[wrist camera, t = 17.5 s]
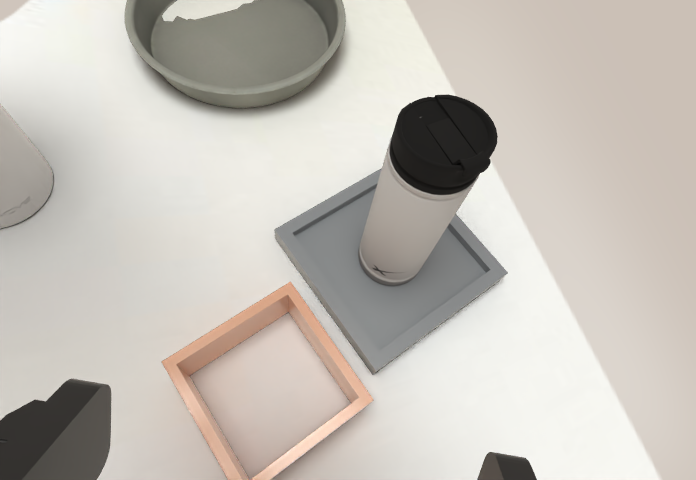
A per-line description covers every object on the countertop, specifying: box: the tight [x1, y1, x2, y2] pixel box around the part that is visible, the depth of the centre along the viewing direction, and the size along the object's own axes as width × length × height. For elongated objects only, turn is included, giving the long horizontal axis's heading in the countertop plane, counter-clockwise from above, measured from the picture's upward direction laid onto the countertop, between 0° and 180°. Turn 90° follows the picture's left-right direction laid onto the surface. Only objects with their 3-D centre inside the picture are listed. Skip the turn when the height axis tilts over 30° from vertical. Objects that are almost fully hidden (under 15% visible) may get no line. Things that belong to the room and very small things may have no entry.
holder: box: [162, 282, 373, 480], centre depth 39 cm, size 12×12×5 cm
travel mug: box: [358, 95, 497, 286], centre depth 37 cm, size 6×7×20 cm
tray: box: [275, 168, 508, 374], centre depth 47 cm, size 16×16×2 cm
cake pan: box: [125, 0, 346, 108], centre depth 56 cm, size 25×25×4 cm
